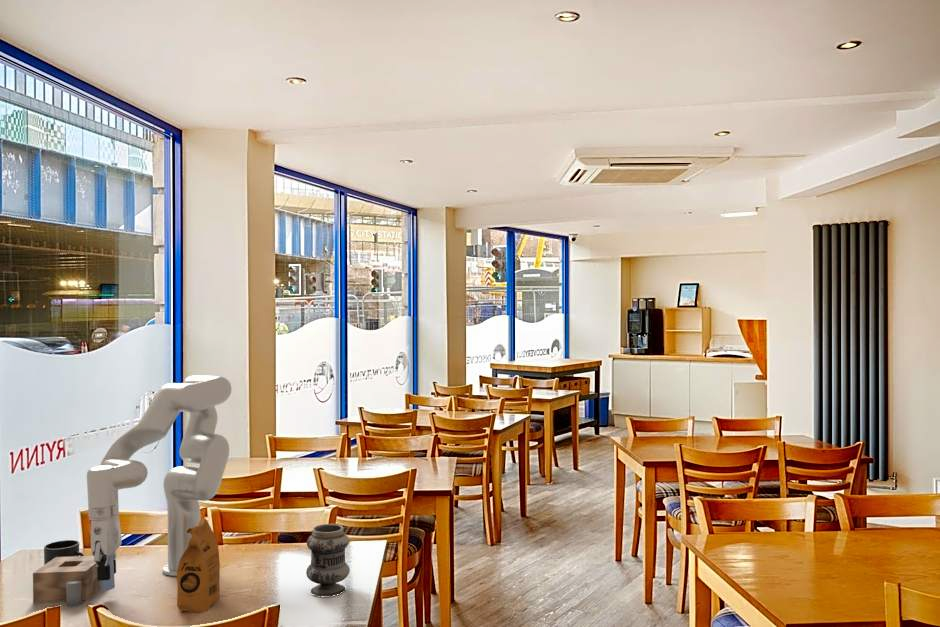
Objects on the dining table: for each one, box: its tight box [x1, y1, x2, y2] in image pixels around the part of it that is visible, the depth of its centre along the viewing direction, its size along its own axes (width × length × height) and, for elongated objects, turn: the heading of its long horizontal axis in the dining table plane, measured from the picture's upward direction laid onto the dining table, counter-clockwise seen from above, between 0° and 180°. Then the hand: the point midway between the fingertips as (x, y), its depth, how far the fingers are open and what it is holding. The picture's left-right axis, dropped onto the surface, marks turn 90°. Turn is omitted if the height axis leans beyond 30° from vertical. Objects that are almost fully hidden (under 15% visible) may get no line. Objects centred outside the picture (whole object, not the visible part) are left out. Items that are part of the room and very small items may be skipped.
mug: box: [43, 539, 85, 566], centre depth 233 cm, size 9×12×9 cm
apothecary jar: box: [306, 523, 351, 598], centre depth 216 cm, size 12×12×18 cm
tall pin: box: [99, 552, 116, 591], centre depth 212 cm, size 4×4×14 cm
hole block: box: [32, 555, 100, 603], centre depth 218 cm, size 14×14×8 cm
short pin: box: [66, 580, 83, 608], centre depth 208 cm, size 4×4×6 cm
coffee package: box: [176, 517, 221, 613], centre depth 207 cm, size 10×12×22 cm
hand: (107, 576), depth 212 cm, fingers closed on tall pin, 3 cm apart
